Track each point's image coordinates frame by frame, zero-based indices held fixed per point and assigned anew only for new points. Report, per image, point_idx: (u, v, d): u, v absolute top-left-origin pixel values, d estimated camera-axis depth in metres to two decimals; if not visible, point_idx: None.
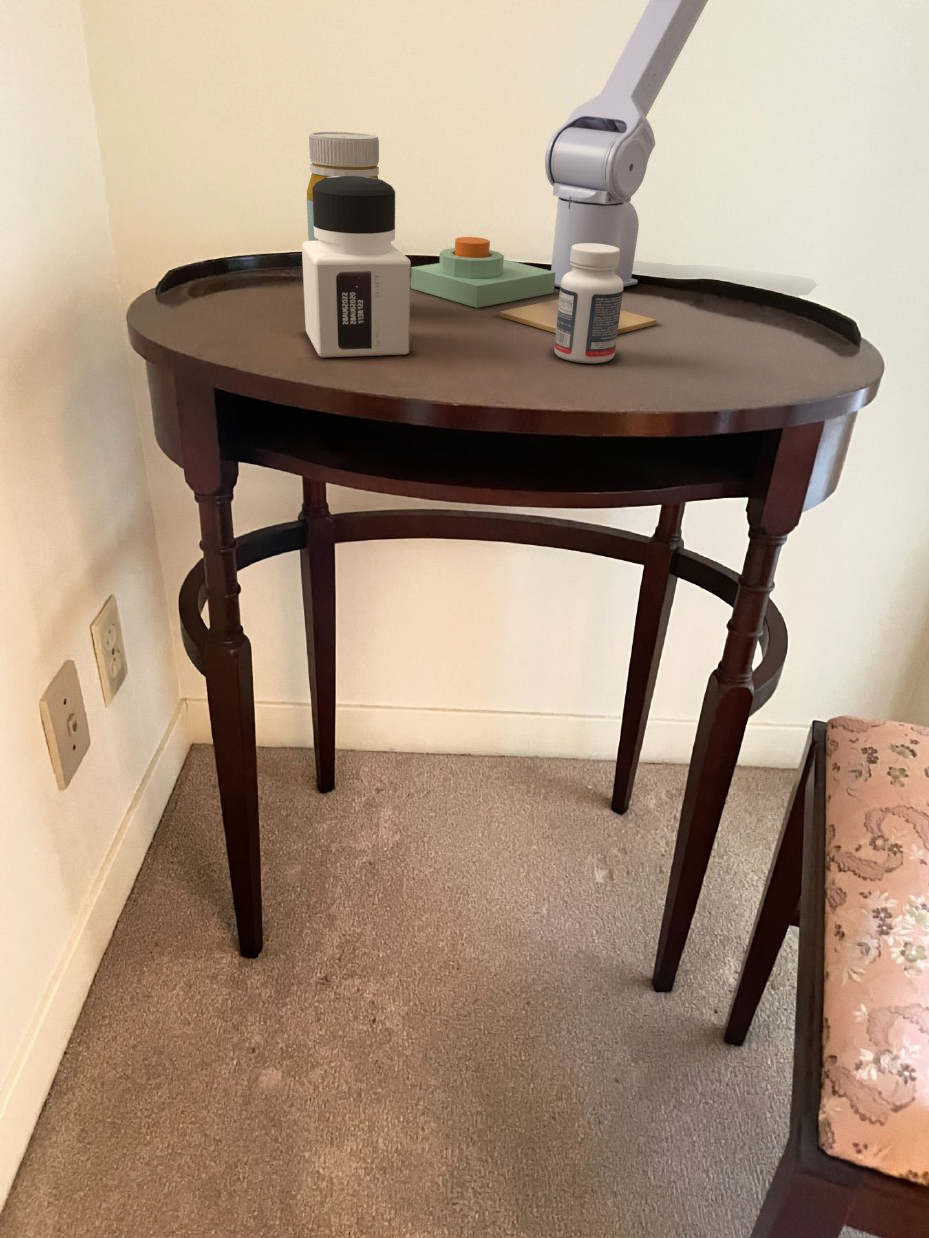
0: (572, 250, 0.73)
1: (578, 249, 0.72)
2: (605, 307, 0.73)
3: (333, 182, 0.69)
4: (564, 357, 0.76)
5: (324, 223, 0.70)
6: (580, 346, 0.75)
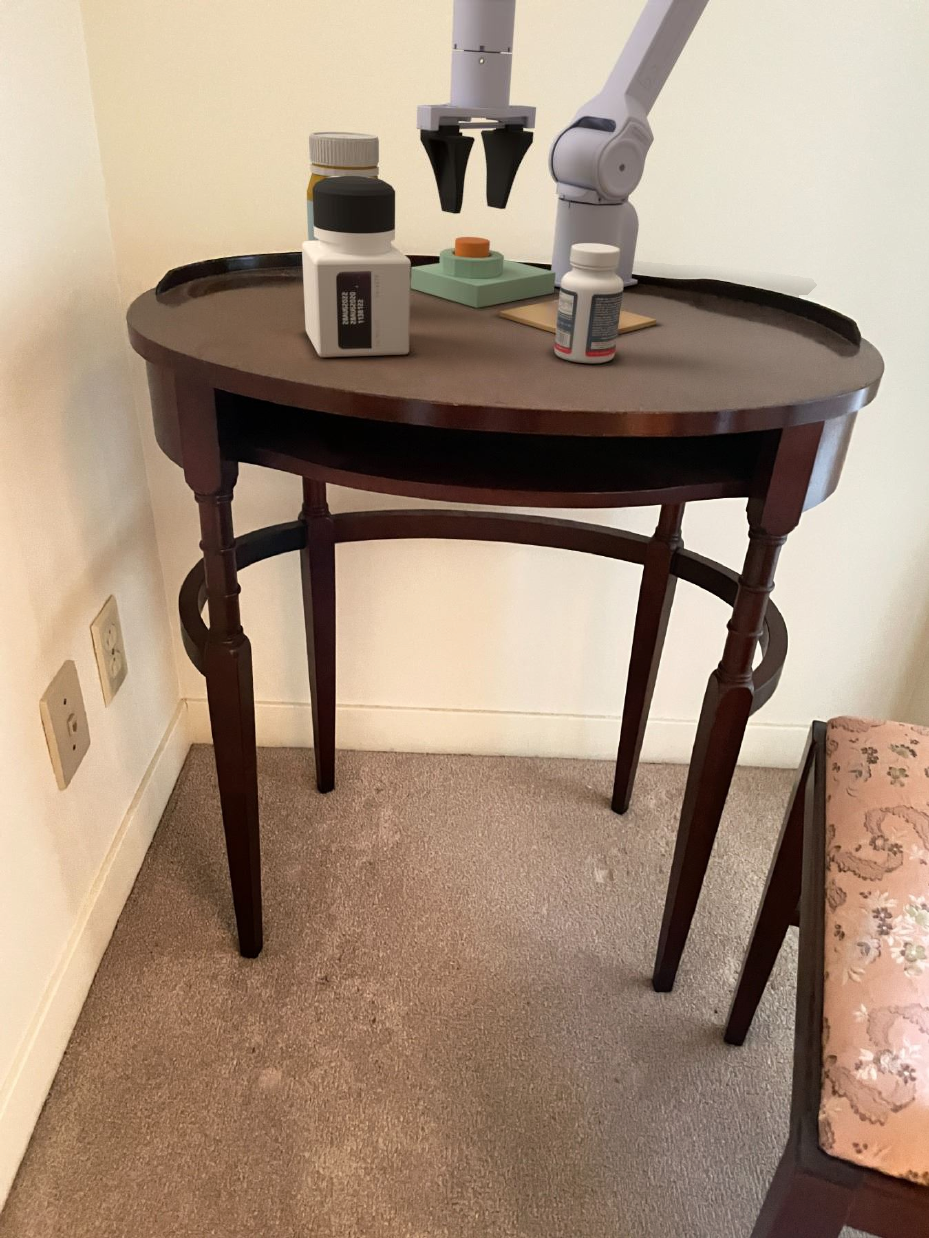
0: (572, 250, 0.73)
1: (578, 249, 0.72)
2: (605, 307, 0.73)
3: (333, 182, 0.69)
4: (564, 357, 0.76)
5: (324, 223, 0.70)
6: (580, 346, 0.75)
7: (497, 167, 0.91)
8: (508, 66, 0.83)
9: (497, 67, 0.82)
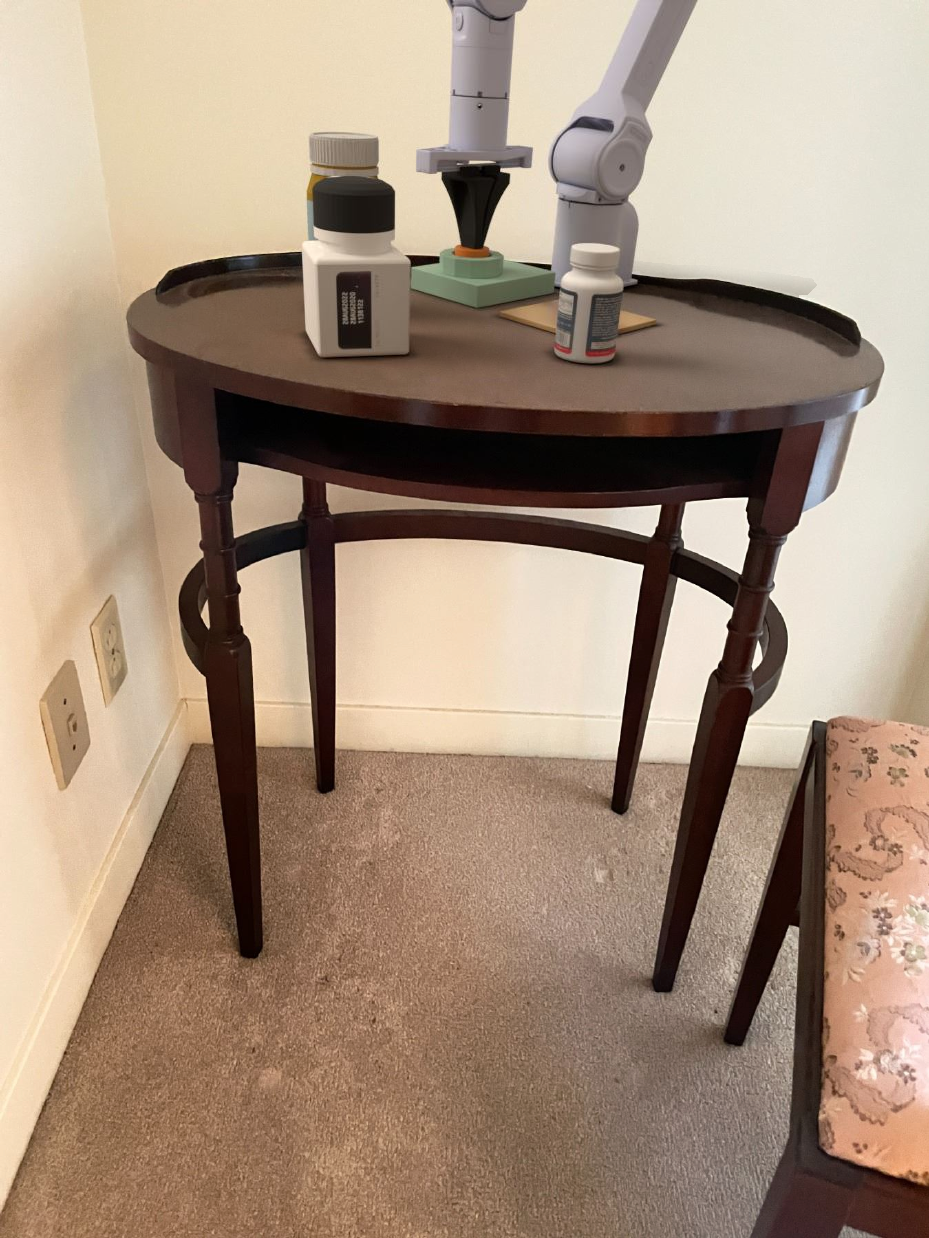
0: (572, 250, 0.73)
1: (578, 249, 0.72)
2: (605, 307, 0.73)
3: (333, 182, 0.69)
4: (564, 357, 0.76)
5: (324, 223, 0.70)
6: (580, 346, 0.75)
7: None
8: (506, 110, 0.85)
9: (494, 112, 0.84)
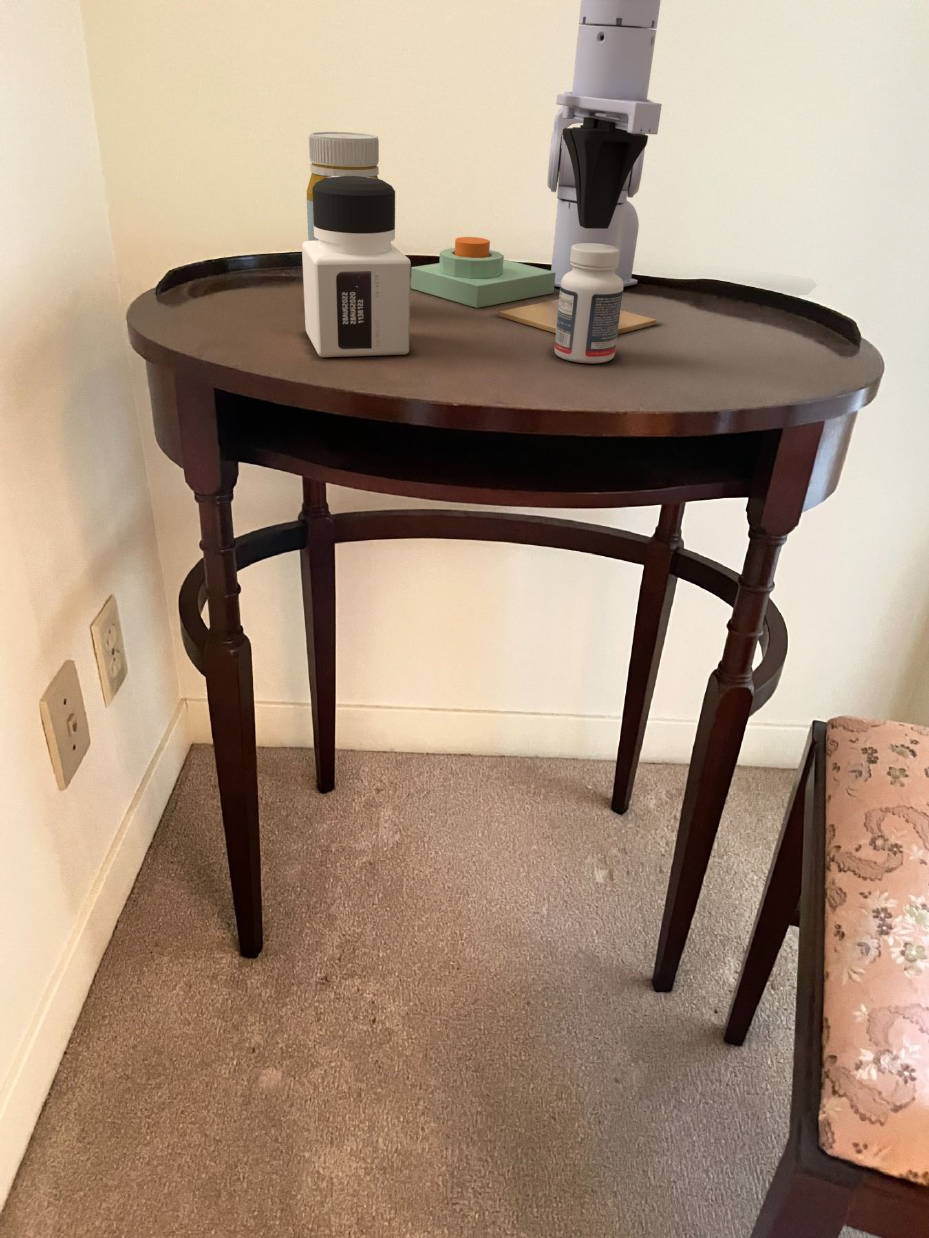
0: (572, 250, 0.73)
1: (578, 249, 0.72)
2: (605, 307, 0.73)
3: (333, 182, 0.69)
4: (564, 357, 0.76)
5: (324, 223, 0.70)
6: (580, 346, 0.75)
7: None
8: None
9: None
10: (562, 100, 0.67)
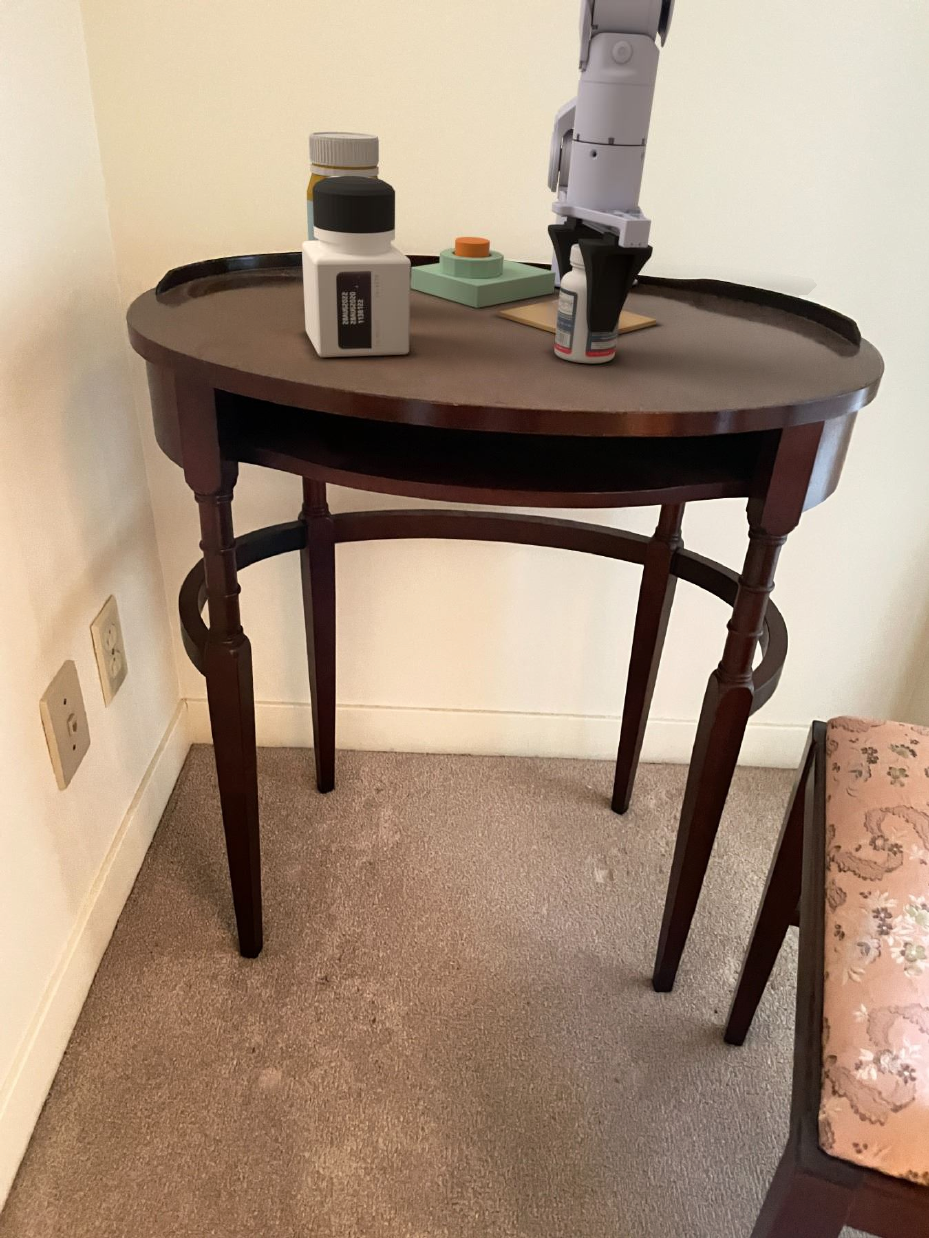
0: (572, 250, 0.73)
1: (578, 249, 0.72)
2: None
3: (333, 182, 0.69)
4: (564, 357, 0.76)
5: (324, 223, 0.70)
6: (580, 346, 0.75)
7: None
8: None
9: None
10: (557, 209, 0.70)
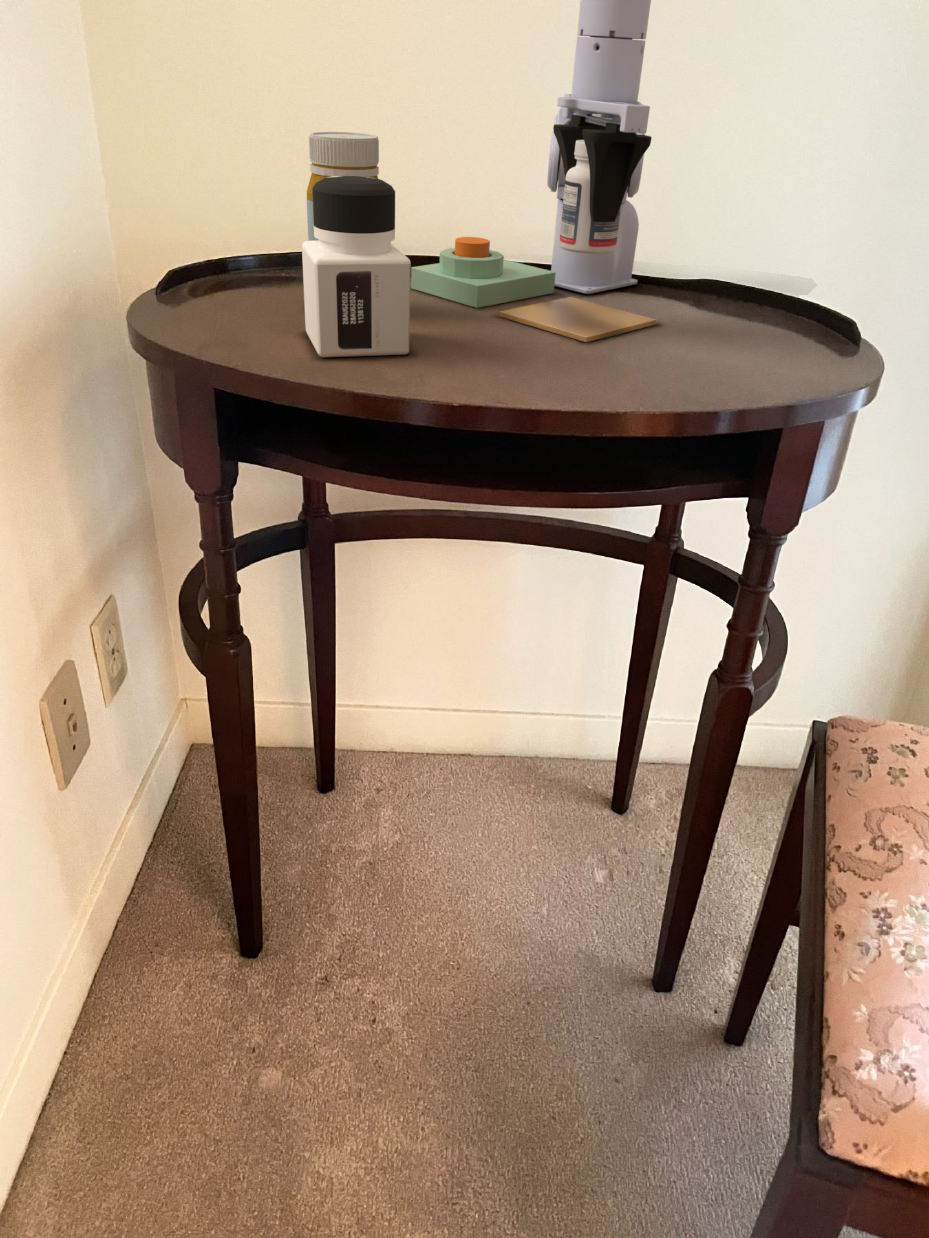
0: (576, 144, 0.78)
1: (582, 142, 0.78)
2: None
3: (333, 182, 0.69)
4: (569, 248, 0.82)
5: (324, 223, 0.70)
6: (584, 236, 0.80)
7: None
8: None
9: None
10: (562, 102, 0.76)
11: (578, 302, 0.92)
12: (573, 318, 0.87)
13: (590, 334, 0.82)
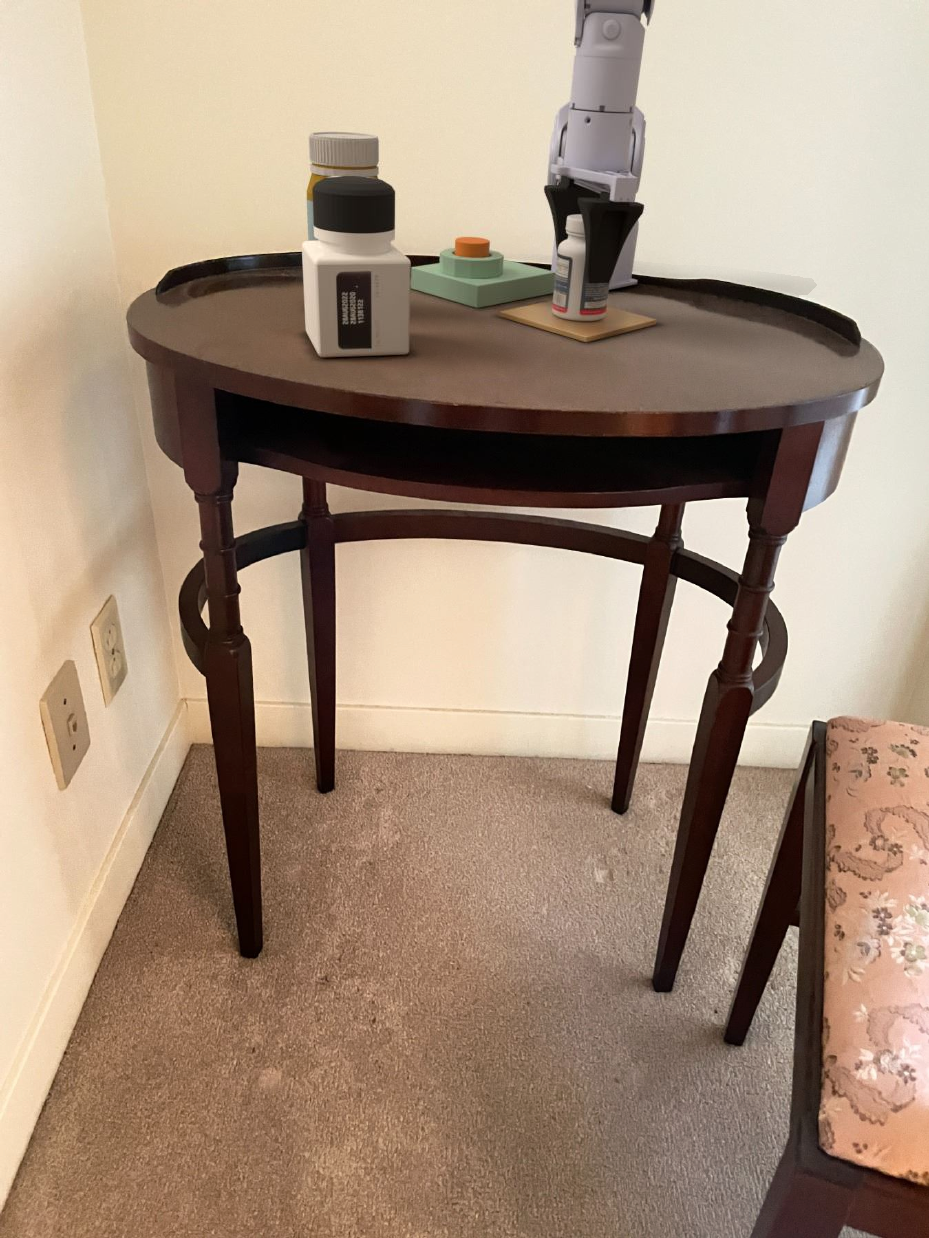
0: (567, 220, 0.83)
1: (573, 219, 0.82)
2: None
3: (333, 182, 0.69)
4: (561, 316, 0.86)
5: (324, 223, 0.70)
6: (575, 305, 0.85)
7: None
8: None
9: None
10: (555, 170, 0.79)
11: None
12: None
13: (590, 334, 0.82)
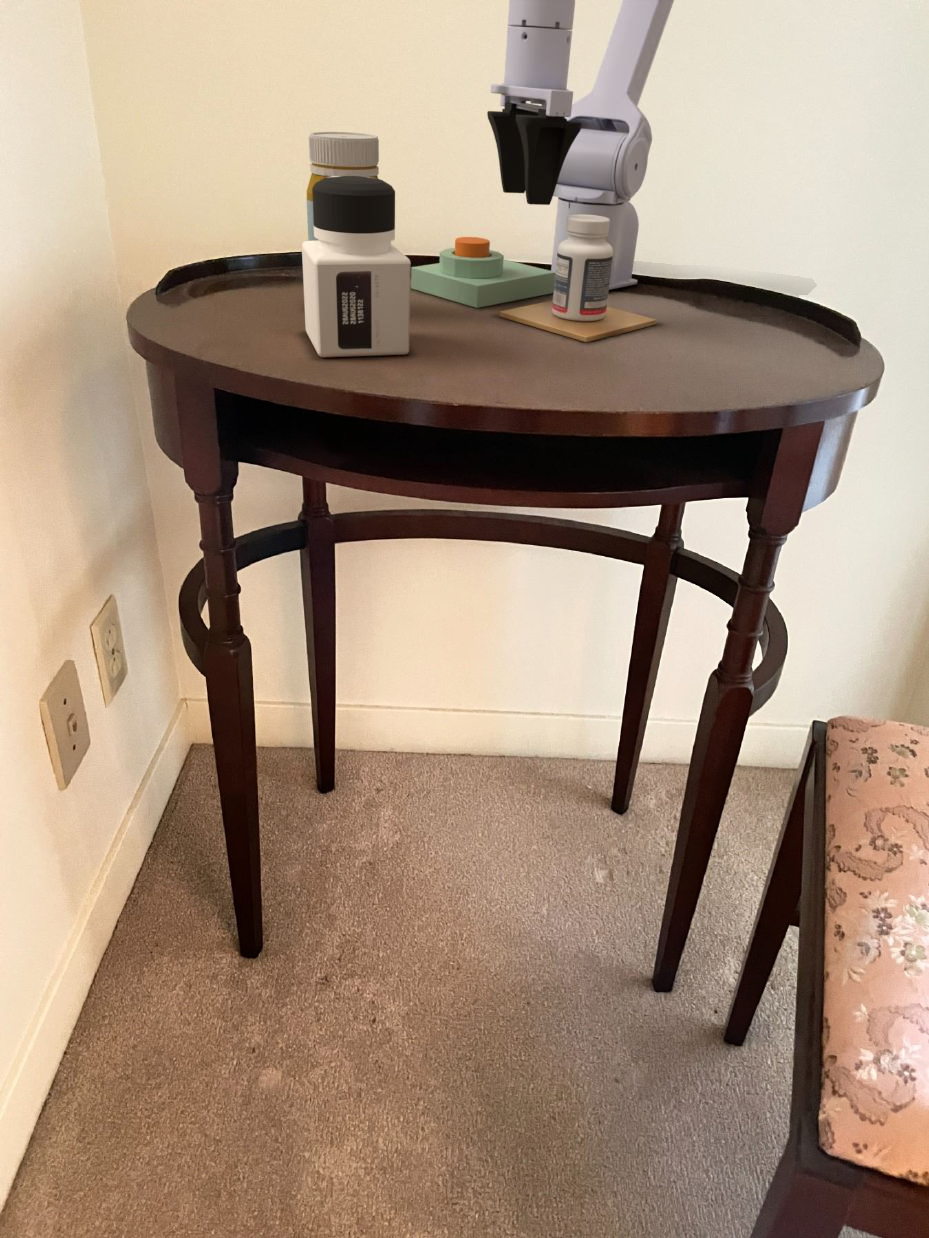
0: (567, 220, 0.83)
1: (573, 219, 0.82)
2: (596, 270, 0.83)
3: (333, 182, 0.69)
4: (561, 316, 0.86)
5: (324, 223, 0.70)
6: (575, 305, 0.85)
7: (516, 150, 0.87)
8: None
9: None
10: (494, 89, 0.80)
11: None
12: None
13: (590, 334, 0.82)
